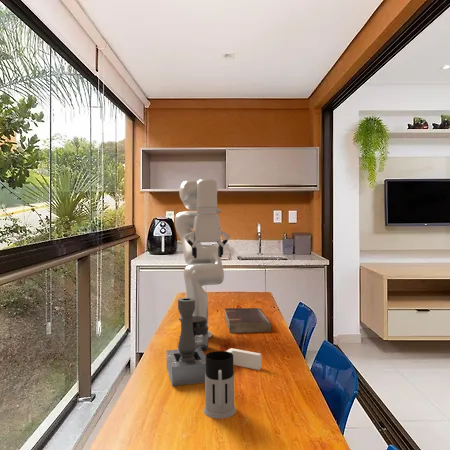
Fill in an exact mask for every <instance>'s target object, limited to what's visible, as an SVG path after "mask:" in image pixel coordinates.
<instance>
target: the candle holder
mask: <svg viewBox="0 0 450 450" xmlns="http://www.w3.org/2000/svg"><path fill="white" fill-rule="evenodd" d="M177 310H178V313H179V315H180V316H179V317H178V320H179V321H180V334H179V339H178V345H177V350H179V352H180V353H181V354H180V355H181V357H180V359H179V362H180V361H191V360H196V359H195V358H194V356H193V355H194V352H195V350H196V342H195V338H194V334H193V320H194V319H195V317H194V316H192V315H193V313H194V310H195V299H194V298H186V297H180V298H178V299H177Z"/></svg>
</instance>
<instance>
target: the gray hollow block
mask: <svg viewBox="0 0 450 450" xmlns="http://www.w3.org/2000/svg"><path fill="white" fill-rule="evenodd" d="M204 352H205V351H202V349H201V347H200V348H196V350H195V352H194V355H193V356H194V358H195V359H196V360H191V361H180V362H179V359H180V357H181V355H180V354H181V353H180V352H179V350H178V349H170V350H166V370H167V373H168V377H169V380H170V384H171V386H172V387H177V386H185V385H187V386H188V385H193V384H194V385H195V384H205V371H206V357H205V356H206V354H205V353H204Z"/></svg>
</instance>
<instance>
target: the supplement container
mask: <svg viewBox="0 0 450 450" xmlns="http://www.w3.org/2000/svg"><path fill="white" fill-rule="evenodd" d="M194 317H195V319H194V320H193V334H194V338H195V342H196V348H200V347H201V349H202V351H203V352H205V351H206V350H208V348H209V338H208V331H209V325H208V326H207V325H206V324H207V318H205V317H202V316H194Z"/></svg>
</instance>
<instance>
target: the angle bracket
mask: <svg viewBox="0 0 450 450" xmlns="http://www.w3.org/2000/svg"><path fill="white" fill-rule="evenodd" d="M225 351H226V352H230V353H232V354H233V366H237V367H242V368H247V369H248V368H249V369H252V370H258V371H260V370H261V369H262V353H259V352H254V351H248V350H245V349H244V350H243V349H239V348H228V349H227V350H225Z"/></svg>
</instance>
